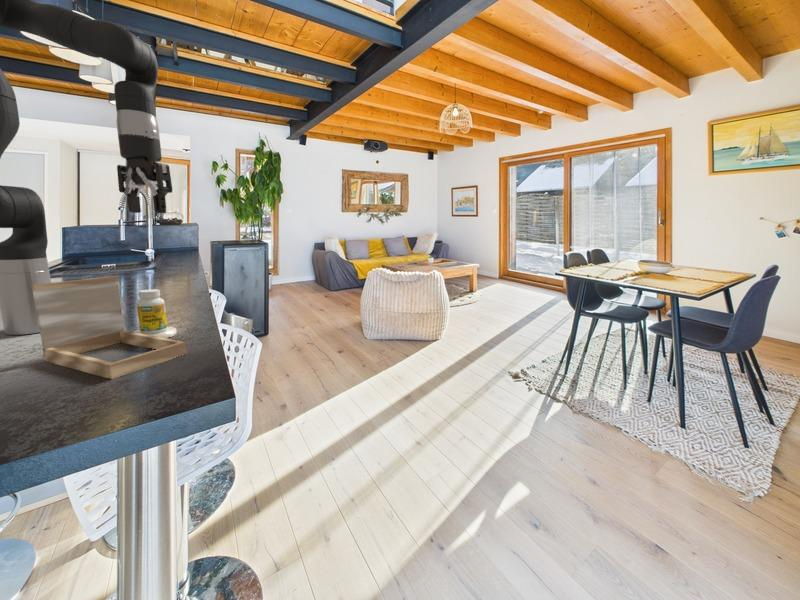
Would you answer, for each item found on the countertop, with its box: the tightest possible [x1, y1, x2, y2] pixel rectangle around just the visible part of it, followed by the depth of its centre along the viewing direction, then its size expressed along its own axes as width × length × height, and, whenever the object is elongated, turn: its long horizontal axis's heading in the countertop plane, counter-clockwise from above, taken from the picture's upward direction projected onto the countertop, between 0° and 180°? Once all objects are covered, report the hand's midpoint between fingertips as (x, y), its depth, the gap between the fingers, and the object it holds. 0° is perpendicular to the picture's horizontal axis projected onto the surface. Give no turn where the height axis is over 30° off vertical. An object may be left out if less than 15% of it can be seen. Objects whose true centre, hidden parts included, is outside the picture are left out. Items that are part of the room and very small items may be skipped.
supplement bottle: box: [136, 288, 168, 334], centre depth 85 cm, size 5×5×10 cm
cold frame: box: [31, 275, 188, 380], centre depth 71 cm, size 20×14×14 cm
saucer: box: [132, 325, 178, 338], centre depth 86 cm, size 9×9×1 cm
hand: (147, 212), depth 84 cm, fingers open, 8 cm apart
